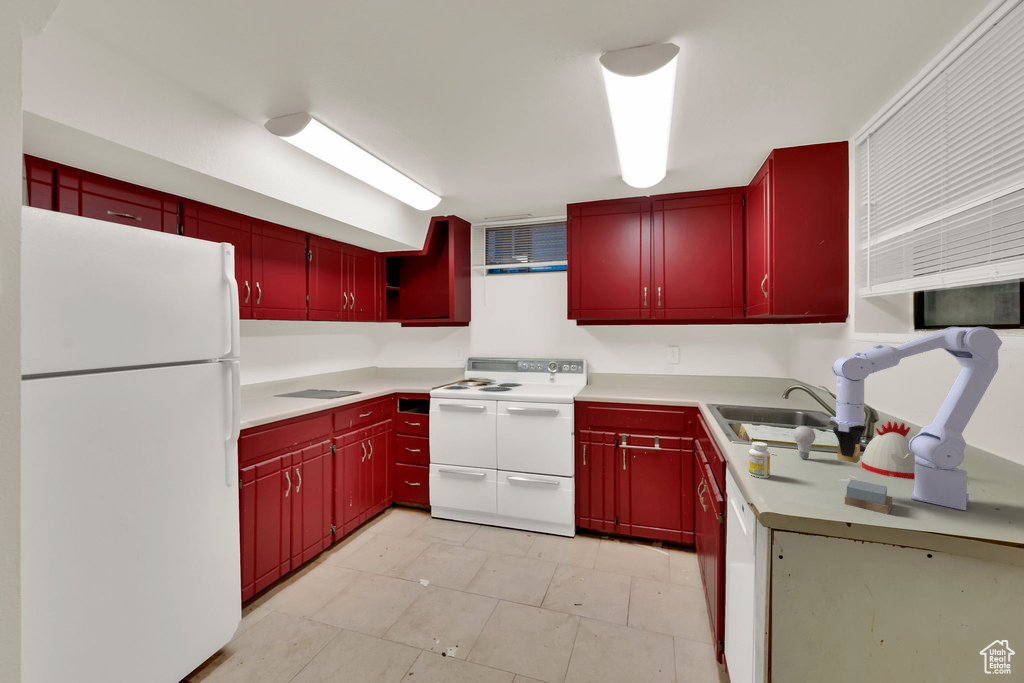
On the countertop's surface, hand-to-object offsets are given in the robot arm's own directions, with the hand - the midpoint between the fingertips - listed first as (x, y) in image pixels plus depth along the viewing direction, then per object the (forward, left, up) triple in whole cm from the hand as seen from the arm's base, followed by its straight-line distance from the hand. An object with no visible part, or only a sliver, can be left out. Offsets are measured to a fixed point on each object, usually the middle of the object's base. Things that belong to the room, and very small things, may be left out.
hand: (849, 454), depth 110 cm
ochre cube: (0, 0, -2) cm, 2 cm away
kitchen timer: (-5, -31, -11) cm, 33 cm away
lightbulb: (+16, -25, -11) cm, 31 cm away
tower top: (-4, +6, -8) cm, 11 cm away
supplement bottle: (+21, +2, -11) cm, 23 cm away
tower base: (-5, +5, -11) cm, 13 cm away
